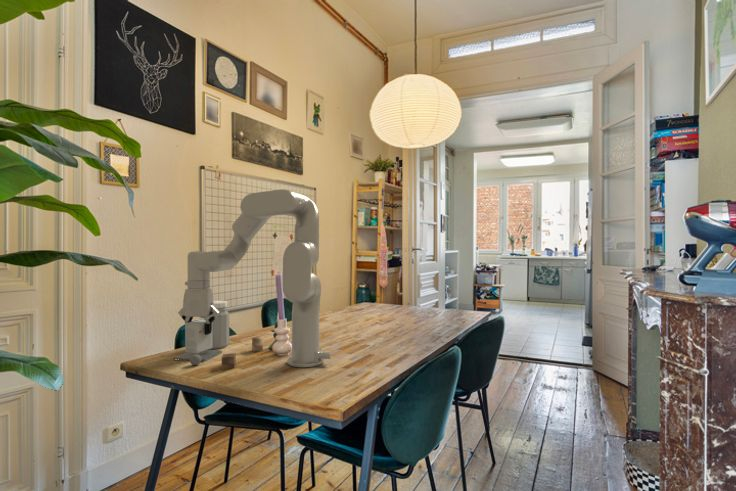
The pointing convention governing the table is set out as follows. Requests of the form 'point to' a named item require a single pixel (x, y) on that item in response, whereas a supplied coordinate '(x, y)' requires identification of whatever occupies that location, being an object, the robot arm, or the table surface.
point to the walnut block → (228, 361)
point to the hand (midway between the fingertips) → (199, 333)
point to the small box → (197, 337)
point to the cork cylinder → (257, 344)
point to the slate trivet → (204, 354)
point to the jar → (220, 326)
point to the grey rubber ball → (195, 359)
